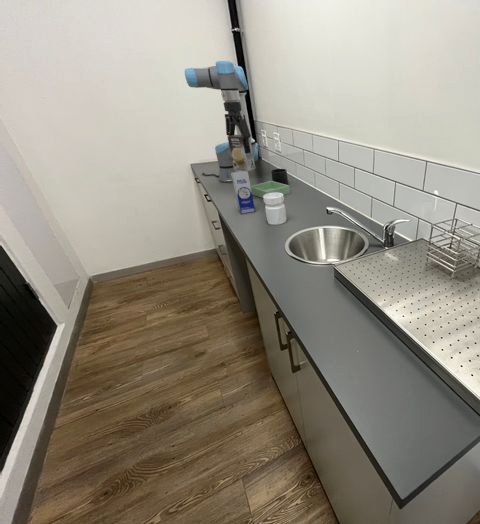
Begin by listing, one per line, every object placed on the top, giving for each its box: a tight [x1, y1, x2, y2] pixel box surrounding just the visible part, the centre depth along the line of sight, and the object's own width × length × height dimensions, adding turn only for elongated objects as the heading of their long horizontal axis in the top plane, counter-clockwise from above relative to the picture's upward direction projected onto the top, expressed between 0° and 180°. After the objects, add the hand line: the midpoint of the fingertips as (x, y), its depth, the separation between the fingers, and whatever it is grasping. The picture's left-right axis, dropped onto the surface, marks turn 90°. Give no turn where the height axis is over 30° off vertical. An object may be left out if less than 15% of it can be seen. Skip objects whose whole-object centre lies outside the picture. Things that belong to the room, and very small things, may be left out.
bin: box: [250, 180, 291, 199], centre depth 170 cm, size 18×16×4 cm
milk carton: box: [231, 170, 256, 215], centre depth 141 cm, size 7×7×20 cm
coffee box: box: [226, 134, 256, 172], centre depth 147 cm, size 9×6×16 cm
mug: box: [270, 168, 289, 185], centre depth 186 cm, size 9×12×9 cm
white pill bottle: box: [262, 193, 287, 226], centre depth 131 cm, size 9×9×12 cm
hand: (241, 151), depth 146 cm, fingers closed on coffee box, 10 cm apart
